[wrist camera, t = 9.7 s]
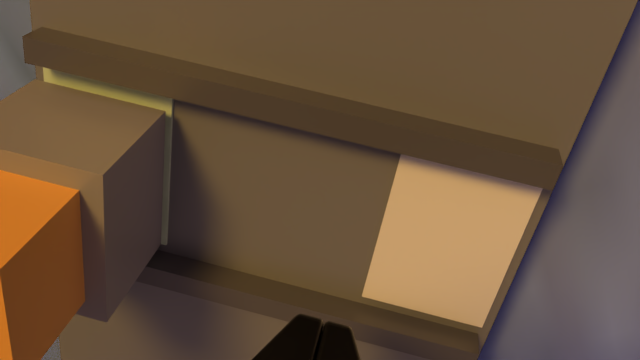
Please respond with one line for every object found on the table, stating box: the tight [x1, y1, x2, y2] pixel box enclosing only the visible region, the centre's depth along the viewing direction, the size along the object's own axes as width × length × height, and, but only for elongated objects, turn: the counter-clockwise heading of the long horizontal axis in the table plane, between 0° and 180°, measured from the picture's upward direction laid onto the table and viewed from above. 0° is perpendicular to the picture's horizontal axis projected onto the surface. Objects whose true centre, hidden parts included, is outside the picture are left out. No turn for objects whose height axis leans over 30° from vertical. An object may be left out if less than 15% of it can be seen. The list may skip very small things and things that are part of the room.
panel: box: [22, 0, 638, 360], centre depth 13 cm, size 20×10×2 cm, turn 170°
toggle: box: [0, 79, 166, 360], centre depth 11 cm, size 3×3×4 cm
